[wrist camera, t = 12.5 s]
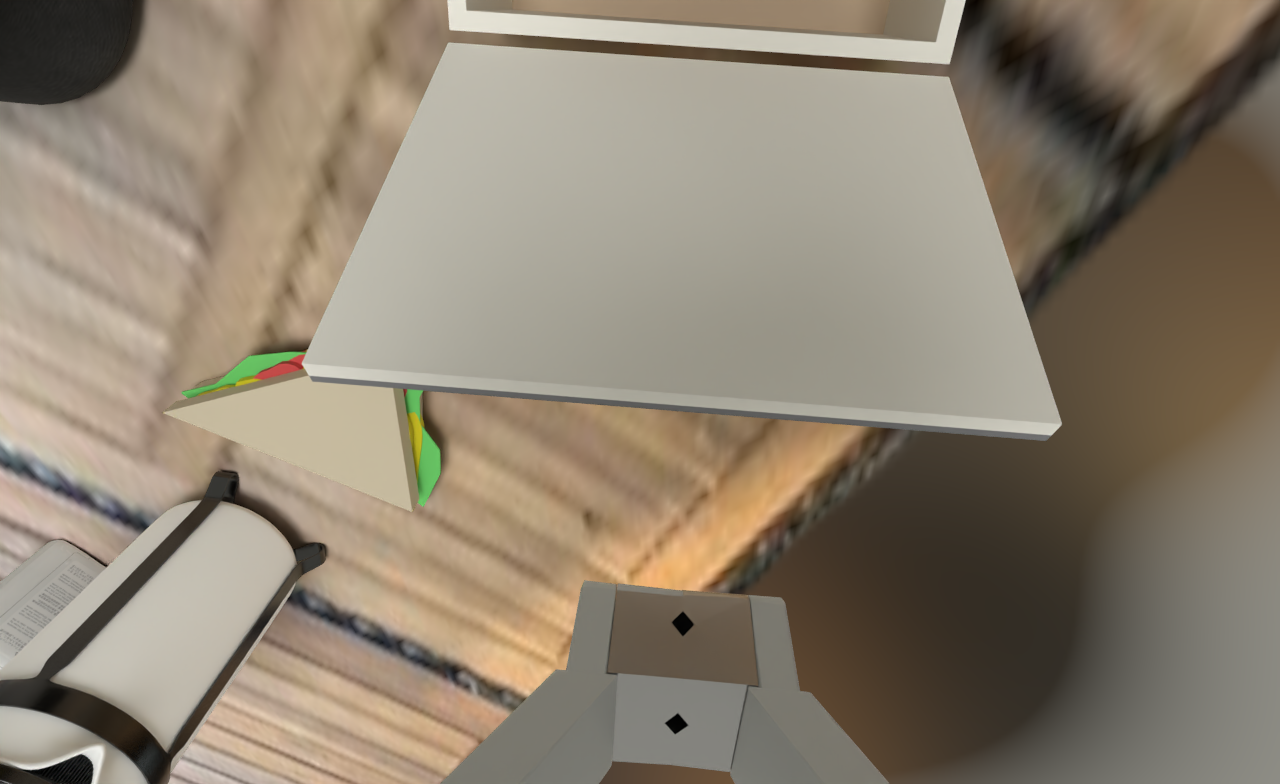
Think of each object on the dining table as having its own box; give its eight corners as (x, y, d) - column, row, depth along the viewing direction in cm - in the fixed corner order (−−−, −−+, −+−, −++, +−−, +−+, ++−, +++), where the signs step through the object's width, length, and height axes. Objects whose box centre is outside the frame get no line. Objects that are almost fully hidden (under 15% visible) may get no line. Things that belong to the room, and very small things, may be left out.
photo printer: (36, 552, 62) (-100, 666, 52) (58, 530, 61) (-77, 643, 50) (137, 618, 66) (30, 738, 55) (161, 598, 64) (55, 718, 54)
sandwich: (196, 247, 48) (147, 272, 43) (475, 330, 49) (454, 361, 45) (200, 427, 55) (158, 463, 51) (442, 492, 57) (421, 533, 52)
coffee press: (129, 448, 56) (-361, 837, 30) (327, 488, 57) (20, 901, 31) (158, 598, 64) (-205, 1005, 38) (329, 631, 65) (90, 1051, 39)
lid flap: (301, 363, 20) (312, 381, 21) (1062, 424, 20) (1046, 441, 20) (448, 42, 31) (452, 62, 31) (948, 77, 30) (941, 96, 31)
